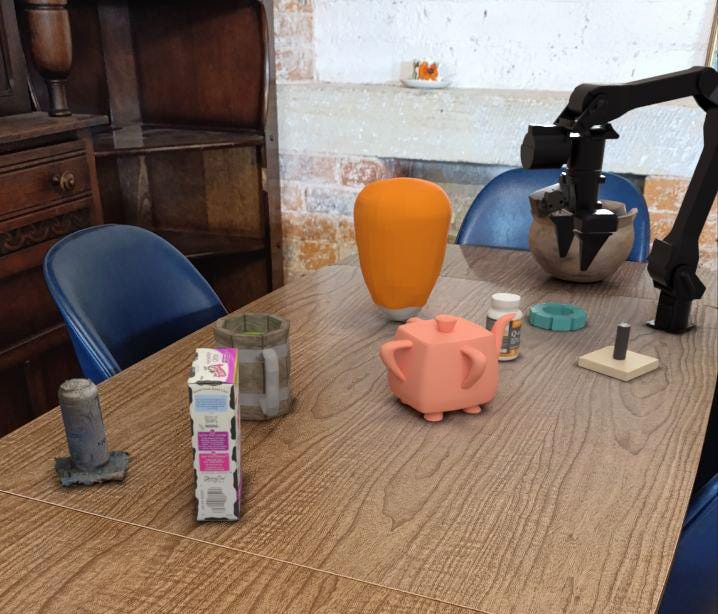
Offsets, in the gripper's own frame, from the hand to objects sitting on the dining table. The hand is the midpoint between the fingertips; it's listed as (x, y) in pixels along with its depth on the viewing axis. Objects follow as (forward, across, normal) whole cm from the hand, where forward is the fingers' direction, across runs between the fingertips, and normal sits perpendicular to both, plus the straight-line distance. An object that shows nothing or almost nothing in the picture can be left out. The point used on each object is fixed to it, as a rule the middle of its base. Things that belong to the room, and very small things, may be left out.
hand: (572, 264), depth 150 cm
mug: (+12, +28, -56) cm, 64 cm away
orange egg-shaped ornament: (+12, -10, -28) cm, 32 cm away
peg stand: (+12, +18, +2) cm, 21 cm away
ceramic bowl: (+13, -34, +16) cm, 40 cm away
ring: (+12, -6, +1) cm, 14 cm away
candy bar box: (+12, +52, -62) cm, 82 cm away
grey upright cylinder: (+12, +43, -77) cm, 89 cm away
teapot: (+12, +28, -29) cm, 43 cm away
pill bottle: (+12, +10, -15) cm, 22 cm away
